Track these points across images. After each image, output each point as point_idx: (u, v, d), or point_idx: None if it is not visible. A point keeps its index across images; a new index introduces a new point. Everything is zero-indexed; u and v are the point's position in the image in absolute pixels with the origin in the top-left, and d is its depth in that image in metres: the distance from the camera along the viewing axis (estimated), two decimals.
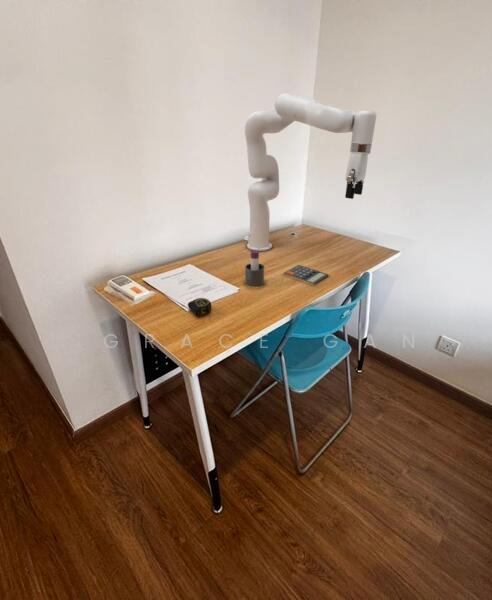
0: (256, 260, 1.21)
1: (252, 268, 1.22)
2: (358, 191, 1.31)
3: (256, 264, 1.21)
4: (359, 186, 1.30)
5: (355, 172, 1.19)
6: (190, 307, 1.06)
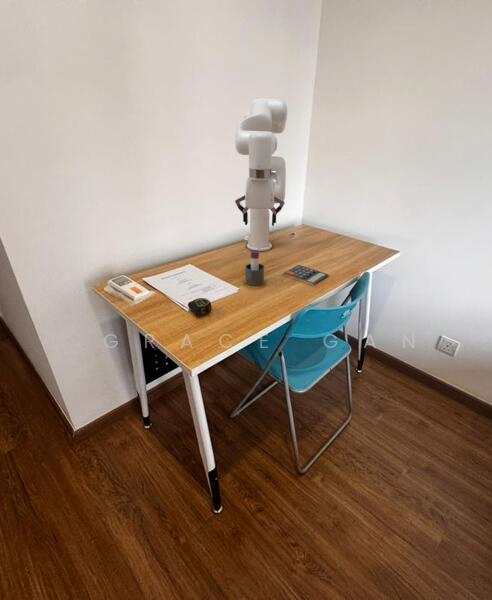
0: (256, 260, 1.21)
1: (252, 268, 1.22)
2: (272, 221, 1.15)
3: (256, 264, 1.21)
4: (272, 216, 1.14)
5: None
6: (190, 307, 1.06)
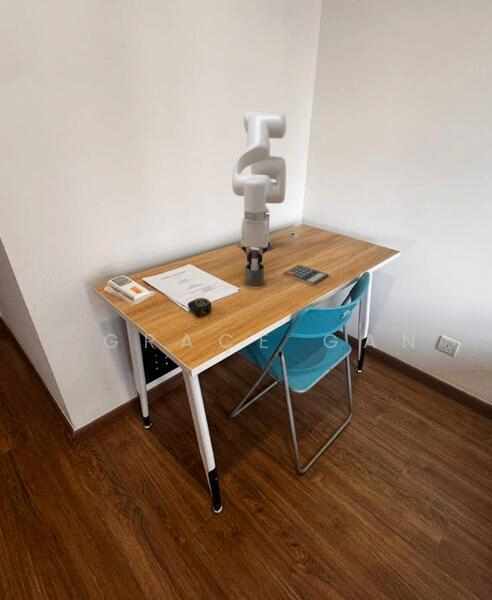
0: (256, 260, 1.21)
1: (252, 268, 1.22)
2: None
3: (256, 264, 1.21)
4: None
5: None
6: (190, 307, 1.06)
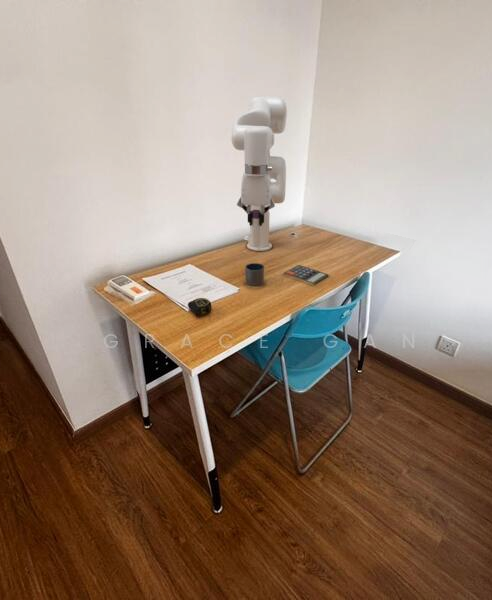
0: (257, 220, 1.13)
1: (253, 229, 1.15)
2: None
3: (257, 225, 1.14)
4: (260, 216, 1.13)
5: None
6: (190, 307, 1.06)
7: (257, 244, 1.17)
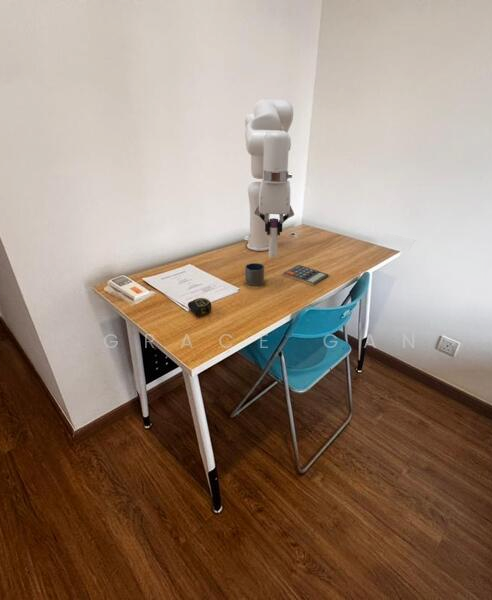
0: (275, 229, 1.07)
1: (271, 239, 1.08)
2: (278, 231, 1.08)
3: (275, 234, 1.08)
4: (278, 225, 1.07)
5: (259, 201, 1.03)
6: (190, 307, 1.06)
7: (274, 254, 1.11)
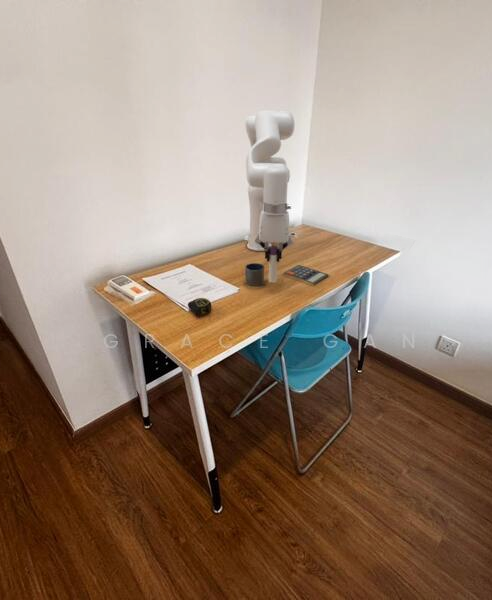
0: (275, 257, 1.11)
1: (270, 265, 1.13)
2: (277, 257, 1.13)
3: (275, 261, 1.12)
4: None
5: (259, 231, 1.07)
6: (190, 307, 1.06)
7: (274, 279, 1.16)
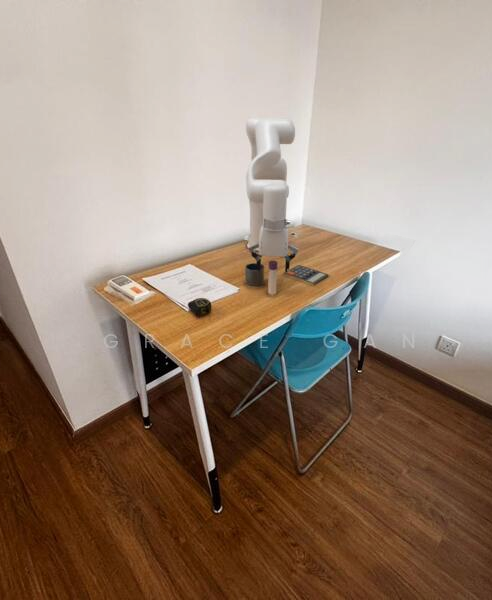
0: (274, 271, 1.14)
1: (270, 280, 1.16)
2: (285, 268, 1.15)
3: (274, 275, 1.15)
4: (285, 263, 1.13)
5: (259, 245, 1.10)
6: (190, 307, 1.06)
7: (273, 293, 1.18)
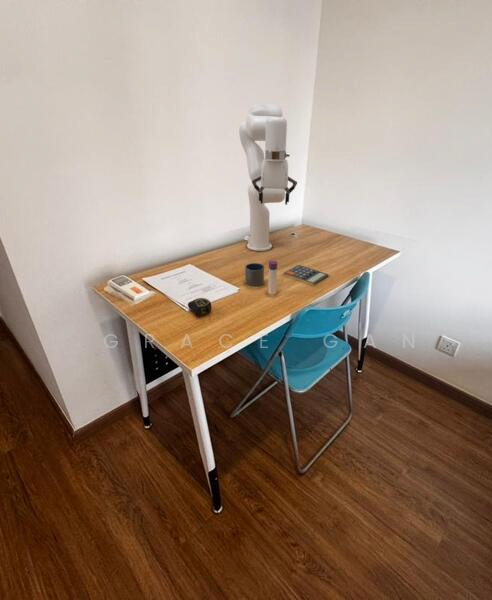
0: (274, 271, 1.14)
1: (270, 280, 1.16)
2: (285, 200, 1.25)
3: (274, 275, 1.15)
4: None
5: (261, 177, 1.20)
6: (190, 307, 1.06)
7: (273, 293, 1.18)
